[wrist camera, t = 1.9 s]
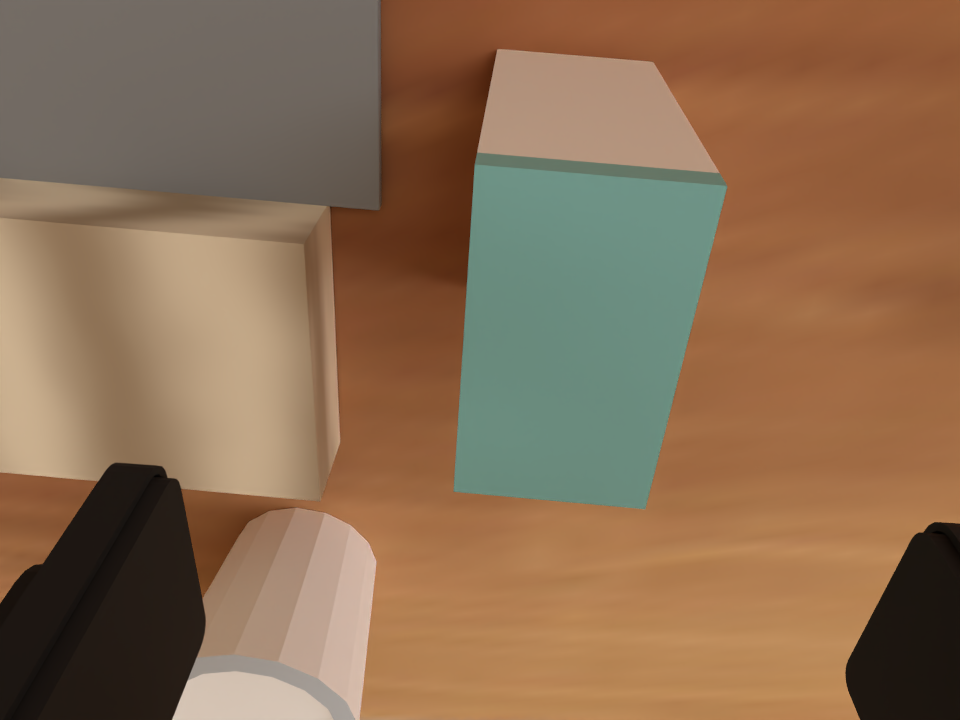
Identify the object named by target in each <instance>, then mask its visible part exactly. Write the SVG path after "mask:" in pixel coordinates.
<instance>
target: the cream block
mask: <svg viewBox="0 0 960 720" xmlns="http://www.w3.org/2000/svg"><path fill="white" fill-rule="evenodd" d="M726 190H727V185H726V183H725V181H724V180H723V178H722V176H721V175H720V173H719V171H718V170H717V168H716V166H715V165H714V163H713V161H712V160H711V158H710V156H709V155H708V153H707V151H706V150H705V148H704V146H703V144H702V143H701V141H700V139H699V138H698V136H697V134H696V133H695V131H694V129H693V128H692V126H691V124H690V123H689V121H688V119H687V118H686V116H685V114H684V113H683V111H682V109H681V108H680V106H679V104H678V103H677V101H676V99H675V98H674V96H673V94H672V93H671V91H670V89H669V88H668V86H667V84H666V83H665V81H664V79H663V78H662V76H661V74H660V73H659V71H658V69H657V68H656V66H655V64H654V63H653V62H649V61H637V60H625V59H613V58H601V57H589V56H577V55H565V54H553V53H541V52H529V51H517V50H505V49H497V53H496V58H495V64H494V69H493V74H492V79H491V84H490V89H489V94H488V99H487V105H486V110H485V115H484V120H483V125H482V130H481V135H480V140H479V145H478V151H477V156H476V161H475V169H474V184H473V200H472V215H471V230H470V246H469V261H468V277H467V292H466V308H465V323H464V339H463V354H462V369H461V385H460V400H459V416H458V431H457V447H456V462H455V477H454V492H462V493H474V494H485V495H496V496H507V497H518V498H529V499H540V500H551V501H562V502H573V503H584V504H595V505H606V506H617V507H628V508H639V509H645V508H646V504H647V500H648V496H649V492H650V488H651V485H652V481H653V477H654V473H655V469H656V465H657V461H658V457H659V453H660V449H661V445H662V441H663V437H664V433H665V429H666V426H667V422H668V418H669V414H670V410H671V406H672V402H673V398H674V394H675V390H676V386H677V382H678V378H679V374H680V370H681V367H682V363H683V359H684V355H685V351H686V347H687V343H688V339H689V335H690V331H691V327H692V323H693V319H694V315H695V311H696V308H697V304H698V300H699V296H700V292H701V288H702V284H703V280H704V276H705V272H706V268H707V264H708V260H709V256H710V252H711V249H712V245H713V241H714V237H715V233H716V229H717V225H718V221H719V217H720V213H721V209H722V205H723V201H724V197H725V193H726Z"/></svg>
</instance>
